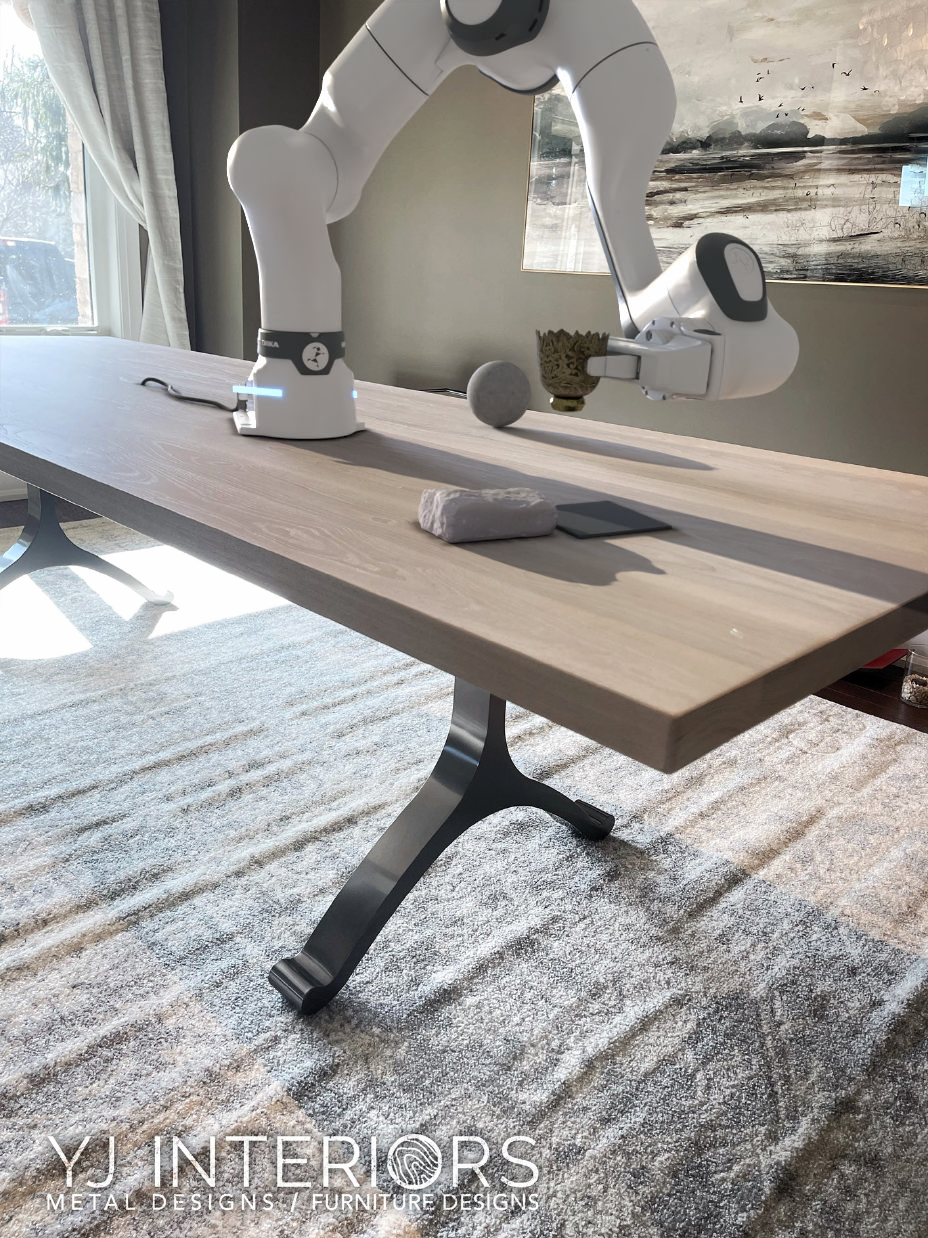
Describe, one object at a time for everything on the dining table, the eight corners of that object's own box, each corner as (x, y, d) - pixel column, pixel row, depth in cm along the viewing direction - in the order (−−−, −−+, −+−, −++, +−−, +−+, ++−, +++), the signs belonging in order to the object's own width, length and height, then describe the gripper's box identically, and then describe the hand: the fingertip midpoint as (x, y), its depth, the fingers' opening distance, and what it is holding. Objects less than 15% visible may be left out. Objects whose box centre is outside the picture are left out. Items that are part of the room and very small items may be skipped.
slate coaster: (521, 510, 99) (521, 508, 99) (607, 503, 104) (608, 500, 103) (579, 538, 90) (580, 535, 90) (671, 528, 95) (672, 525, 94)
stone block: (408, 536, 94) (447, 543, 85) (408, 487, 93) (446, 489, 84) (516, 532, 99) (563, 539, 90) (516, 486, 98) (564, 488, 89)
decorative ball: (505, 419, 156) (509, 356, 152) (541, 429, 148) (545, 363, 144) (453, 422, 151) (456, 357, 147) (487, 433, 143) (491, 364, 139)
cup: (562, 403, 104) (568, 327, 101) (617, 412, 99) (624, 332, 96) (517, 409, 99) (521, 328, 96) (572, 418, 94) (577, 334, 91)
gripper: (617, 322, 110) (514, 321, 104) (740, 337, 93) (625, 337, 87) (612, 377, 112) (511, 380, 106) (731, 402, 95) (619, 407, 89)
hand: (563, 361), depth 97 cm, fingers closed on cup, 7 cm apart
